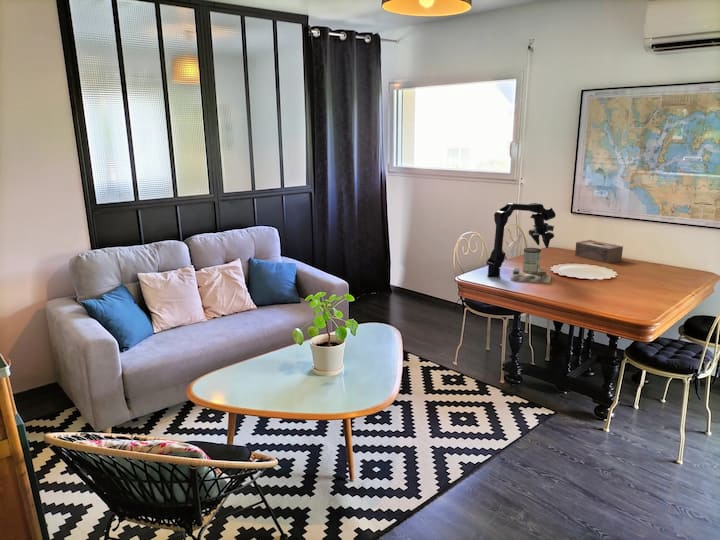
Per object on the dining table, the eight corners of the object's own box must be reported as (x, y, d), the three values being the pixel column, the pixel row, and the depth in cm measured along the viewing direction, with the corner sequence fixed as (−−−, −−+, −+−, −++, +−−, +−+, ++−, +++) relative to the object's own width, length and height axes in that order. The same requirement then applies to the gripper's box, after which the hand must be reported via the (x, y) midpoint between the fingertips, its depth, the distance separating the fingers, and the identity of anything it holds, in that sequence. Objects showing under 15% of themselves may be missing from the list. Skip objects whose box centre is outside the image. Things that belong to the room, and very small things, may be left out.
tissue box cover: (574, 256, 363) (576, 242, 361) (588, 253, 370) (589, 239, 368) (607, 263, 342) (609, 248, 339) (621, 260, 348) (623, 246, 346)
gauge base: (510, 280, 307) (511, 272, 306) (512, 275, 318) (513, 267, 317) (549, 283, 299) (550, 274, 298) (550, 277, 310) (551, 269, 309)
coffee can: (520, 269, 332) (522, 247, 328) (537, 269, 331) (538, 247, 327) (524, 273, 322) (525, 251, 318) (541, 273, 321) (542, 251, 317)
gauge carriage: (531, 279, 302) (531, 272, 301) (532, 274, 311) (532, 268, 310) (545, 280, 299) (546, 273, 298) (546, 275, 308) (546, 269, 307)
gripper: (560, 221, 311) (563, 245, 316) (541, 216, 329) (545, 239, 334) (544, 227, 309) (547, 251, 314) (526, 222, 327) (530, 244, 332)
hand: (542, 246), depth 324 cm, fingers open, 9 cm apart
